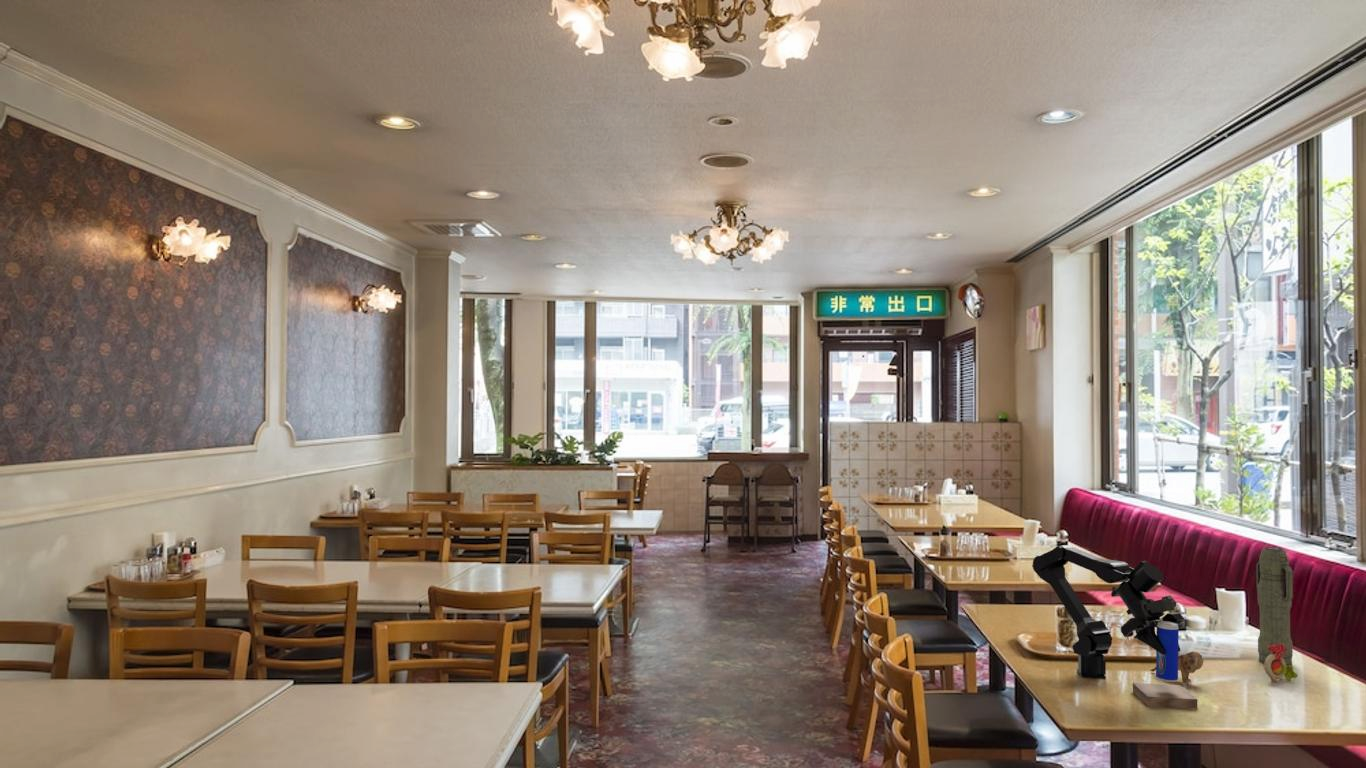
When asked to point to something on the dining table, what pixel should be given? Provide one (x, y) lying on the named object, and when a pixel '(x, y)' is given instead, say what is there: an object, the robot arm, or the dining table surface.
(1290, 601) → the grey-green panelled tower
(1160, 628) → the beverage can
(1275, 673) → the bird rattle
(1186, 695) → the walnut base board
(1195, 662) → the lion figurine
